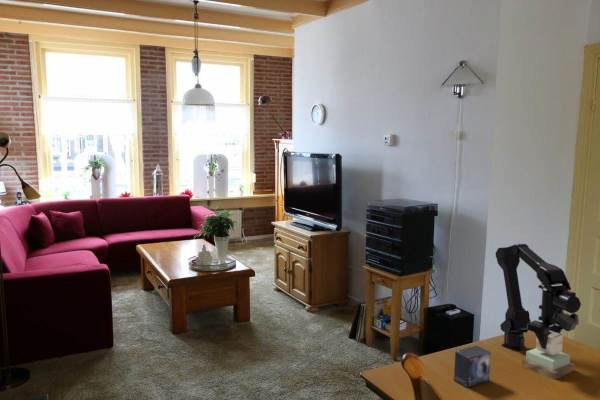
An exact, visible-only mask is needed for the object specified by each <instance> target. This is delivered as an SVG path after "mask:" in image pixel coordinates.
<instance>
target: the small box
mask: <svg viewBox="0 0 600 400" xmlns="http://www.w3.org/2000/svg"><path fill="white" fill-rule="evenodd" d="M490 367H491V351H489V350H487V349H485V348H482V347H481V346H479V345H474V346H470V347H466V348H462V349H458V350H454V370H453V371H454V373H453V374H454V375H453V381H455V382H456V383H457V384H460V385H461V386H463V387H465V388H467V389H468V388H472V387H474V386H478V385H480V384H484V383H487V382H490V373H491V372H490V370H491V369H490Z"/></svg>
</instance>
